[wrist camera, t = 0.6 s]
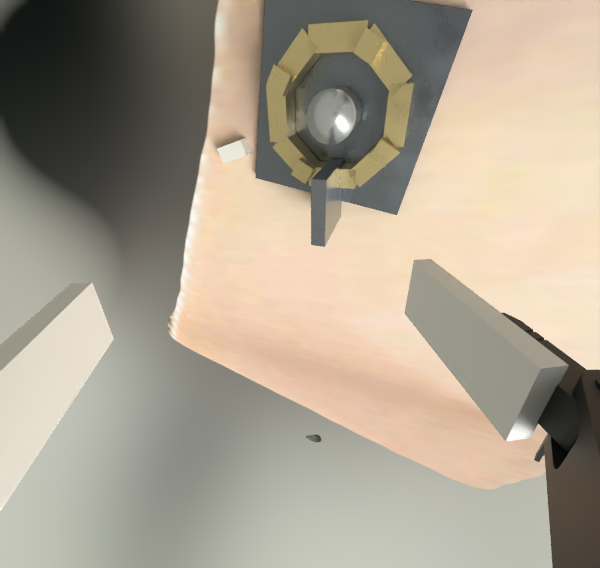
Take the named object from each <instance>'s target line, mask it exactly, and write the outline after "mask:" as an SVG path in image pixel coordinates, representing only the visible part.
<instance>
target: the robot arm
mask: <svg viewBox="0 0 600 568" xmlns="http://www.w3.org/2000/svg"><path fill="white" fill-rule="evenodd" d="M405 314H406V316H407V317H408V318H409V319H410V321H411V322H412V323H413V325H414V326H415V327H416V328H417V330H418V331H419V332H420V333H421V335H422V336H423V337H424V338H425V340H426V341H427V342H428V344H429V345H430V346H431V347H432V349H433V350H434V351H435V352H436V354H437V355H438V356H439V357H440V359H441V360H442V361H443V362H444V364H445V365H446V366H447V368H448V369H449V370H450V371H451V373H452V374H453V375H454V376H455V378H456V379H457V380H458V381H459V383H460V384H461V385H462V387H463V388H464V389H465V390H466V392H467V393H468V394H469V395H470V397H471V398H472V399H473V400H474V402H475V403H476V404H477V405H478V407H479V408H480V409H481V411H482V412H483V413H484V414H485V416H486V417H487V418H488V419H489V421H490V422H491V423H492V424H493V426H494V427H495V428H496V429H497V431H498V432H499V433H500V435H501V436H502V437H503V438H504V440H505V441H511V440H518V439H525V438H530V437H531V435H532V434H533V432H534V430H535V428H536V426H537V424H538V423H539V424H540V425H541V427H542V428H543V429H544V430H545V431H546V432H547V433H548V434H547V436H546V438H545V439H544V441H543V443H542V445H541V446H540V448H539V450H538V452H537V453H536V456H535V459H534V460H535V461H538V462H539V461H540V460H541V458H542V456H544V455H545V465H546V479H547V493H548V506H549V521H550V535H551V547H552V548H551V549H552V563H553V568H600V370H586V369H585V368H584V367H582V366H581V365H580V364H578V363H577V362H576V361H574V360H573V359H571V358H570V357H569V356H567V355H566V354H565V353H563V352H562V351H561V350H559V349H558V348H557V347H555V346H554V345H553V344H551V343H550V342H549V341H547V340H544V338H543V337H542V336H540V335H539V334H538V333H536V332H533V330H532V329H531V328H530V327H528V326H527V325H526V324H524V323H523V322H522V321H520V320H518V319H516V318H514V317H512V316H510V315H508V314H505V313H500V312H499V311H498V310H496V309H495V308H494V307H492V306H491V305H490V304H488V303H487V302H486V301H485V300H483V299H482V298H481V297H479V296H478V295H477V294H475V293H474V292H473V291H472V290H470V289H469V288H468V287H466V286H465V285H464V284H462V283H461V282H460V281H459V280H457V279H456V278H455V277H453V276H452V275H451V274H449V273H448V272H447V271H446V270H444V269H443V268H442V267H440V266H439V265H438V264H436V263H435V262H434V261H433V260H431V259H425V260H414V263H413V269H412V275H411V280H410V286H409V291H408V297H407V303H406V308H405ZM112 341H113V336H112V333H111V330H110V328H109V325H108V323H107V320H106V318H105V315H104V312H103V310H102V307H101V305H100V302H99V299H98V296H97V294H96V291H95V289H94V286H93V283H92V282H90V283H75V284H70V285H69V286H68V287H67V288H65V289H64V290H63V291H62V292H61V293H60V294H59V295H57V296H56V297H55V298H54V299H53V300H52V301H50V302H49V303H48V304H47V305H46V306H45V307H44V308H42V309H41V310H40V311H39V312H38V313H37V314H35V316H33V317H32V318H31V319H30V320H29V321H28V322H26V323H25V324H24V325H23V326H22V327H20V328H19V329H18V330H17V331H16V332H15V333H14V334H12V335H11V336H10V337H9V338H8V339H7V340H5V342H3V343H2V344H1V345H0V511H1V510H2V508H3V507H4V505H5V504H6V502H7V501H8V499H9V498H10V496H11V495H12V493H13V492H14V490H15V489H16V487H17V485H18V484H19V482H20V481H21V479H22V478H23V476H24V475H25V473H26V472H27V470H28V469H29V467H30V466H31V464H32V463H33V461H34V460H35V458H36V457H37V455H38V454H39V452H40V450H41V449H42V447H43V446H44V444H45V443H46V441H47V440H48V438H49V437H50V435H51V434H52V432H53V431H54V429H55V427H56V426H57V425H58V423H59V422H60V420H61V419H62V417H63V416H64V414H65V412H66V411H67V409H68V408H69V406H70V405H71V403H72V402H73V400H74V399H75V397H76V396H77V394H78V393H79V391H80V390H81V388H82V387H83V385H84V383H85V382H86V381H87V379H88V377H89V376H90V374H91V373H92V371H93V370H94V368H95V367H96V365H97V363H98V362H99V361H100V359H101V358H102V356H103V354H104V353H105V351H106V350H107V348H108V347H109V345H110V344H111V342H112Z"/></svg>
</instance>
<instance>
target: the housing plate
mask: <svg viewBox="0 0 600 568" xmlns="http://www.w3.org/2000/svg"><path fill="white" fill-rule="evenodd" d="M471 13H472V10H469V9H463V8H456V7H449V6H443V5H436V4H429V3H422V2H416V1H409V0H265V9H264V28H263V47H262V66H261V85H260V104H259V123H258V142H257V161H256V178H258V179H262V180H266V181H270V182H273V183H277V184H281V185H285V186H288V187H292V188H296V189H300V190H304V191H307V192H311V186H309V181H308V182H307V183H306V184H304V183H303V182H301V181H300V180H298V179H297V178H296V177H294V176H293V175H291V174H292V172H293V170H292V169H291V168H290V167H289V165H288V164H287V163H286V162H285V161H284V160H283V159H282V158H281V157H280V155H279V154H278V153H277V152H276V151H275V150H274V149H273V148H272V147H273V146H274V145H275V144H276V143H277V142H270V133H269V120H268V106H267V93H266V84H267V81H268V78H269V76H270V73H271V70H272V68H273V65H274V64H278V63H279V61H280V60H281V59H282V57H283V56H284V54H285V53H286V51H287V50H288V48H289V47H290V45H291V44H292V42H293V41H294V40H295V38H296V37H297V35H298V34H299V32H300V31H301V29H302V28H303V29H306V30H308V24H321V23H335V22H349V21H363V20H368V21H369V22H371V23H372V26H373V24H374V23H375V24H376V25H377V26H378V28H379V29H380V30H381V32H382V33H383V34H384V36H385V37H386V39H387V40H388V41H389V43H390V44H391V46H392V47H393V48H394V50H395V51H396V53H397V54H398V55H399V57H400V58H401V59H402V61H403V62H404V64H405V65H406V66H407V68H408V69H409V71H410V72H411V73H412V75H413V76H412V77H411V78H410V79H409V80H408V81H407V82H414V86H413V92H412V99H411V105H410V111H409V117H408V123H407V129H406V136H405V142H404V147H401V151H400V154H398V155H397V156H396V157H395V158H394V159H392V160H391V161H390V162H389V163H388V164H387V165H386V166H385V167H383V168H382V169H381V170H379V171H378V172H377V173H376V174H375V175H374V176H372V177H371V178H370V179H369V180H368V181H366V182H365V183H364V184H363V185H362V186H361V187H359V186H358V185H356V187H355V189H348V188H342V201H345V202H349V203H353V204H357V205H361V206H364V207H368V208H372V209H376V210H380V211H383V212H387V213H391V214H395V215H397V213H398V210H399V208H400V205H401V202H402V199H403V197H404V194H405V191H406V189H407V186H408V183H409V181H410V178H411V175H412V172H413V170H414V167H415V164H416V162H417V159H418V156H419V154H420V151H421V148H422V145H423V143H424V140H425V137H426V135H427V132H428V129H429V126H430V124H431V121H432V118H433V116H434V113H435V110H436V108H437V105H438V102H439V99H440V97H441V94H442V91H443V89H444V86H445V83H446V80H447V78H448V75H449V72H450V70H451V67H452V64H453V62H454V59H455V56H456V53H457V51H458V48H459V45H460V43H461V40H462V37H463V35H464V32H465V29H466V26H467V24H468V21H469V18H470V16H471ZM388 95H389V90H388V89H387V87H386V86H385V85H384V83H383V82H382V81H381V79H380V78H379V77H378V75H377V74H376V73H375V71H374V70H373V69H372V67H371V66H370V65H369V64H368V63H367V62H365V61H364V60H363V59H361V58H360V57H358V56H357V55H356V54H354V53H342V54H321V56H320V57H319V58H318V60H317V61H316V62H315V64H314V65H313V66H312V67H311V69H310V70H309V71H308V73H307V74H306V75H305V77H304V78H303V79H302V81H301V82H300V83H299V84H298V86H297V87H296V88H295V90H294V96H295V131H296V134H297V135H298V137H299V138H300V139H301V140H302V141H303V142H304V143H305V145H306V146H307V147H308V148H309V149H310V150H311V152H312V153H313V154H314V155H315V156H316V157H317V159H318V160H319V161H323V162H328V161H329V160H330V159H344V163H356V162H357V161H358V160H359V159H360V158H362V157H363V156H364V155H365V154H366V153H367V152H368V151H369V150H370V149H371V148H372V147H374V146H375V145H376V144H377V143H378V142H379V141H380V139H381V138H382V137H383V135H384V127H385V119H386V111H387V103H388Z"/></svg>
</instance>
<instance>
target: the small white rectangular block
mask: <svg viewBox="0 0 600 568" xmlns="http://www.w3.org/2000/svg"><path fill="white" fill-rule="evenodd" d="M217 151H218V153H219V155H220V158H221V160H222V162H223V163H226V162H229V161H232V160H235V159H238V158H241V157H244V156H246V155H248V154H250V153H251V151H250V148H249V146H248V143H247V140H246V138H244V139H241V140H238V141H236V142H233V143H230V144H228V145H225V146H222V147H220V148H217Z"/></svg>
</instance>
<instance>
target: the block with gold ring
mask: <svg viewBox="0 0 600 568" xmlns="http://www.w3.org/2000/svg"><path fill="white" fill-rule="evenodd" d="M342 53H354V54H356V55H357V56H358V57H360V58H361V59H363V60H364V61H365V62H367V63H368V64H369V65H370V66H371V67H372V69H373V70H374V71H375V73H376V74H377V75H378V77H379V78H380V79H381V81H382V82H383V83H384V85H385V86H386V87H387V89H388V90H389V95H388V103H387V111H386V119H385V127H384V135H383V137H382V138H381V139H380V141H379V142H378V143H377V144H376V145H375V146H374V147H372V148H371V149H370V150H369V151H368V152H367V153H366V154H365V155H364V156H363V157H362V158H360V159H359V160H358V161H357V162H356V163H344V159H330V160H329V161H328V162H323V161H319V160H318V159H317V157H316V156H315V155H314V154H313V153H312V152H311V150H310V149H309V148H308V147H307V146H306V145H305V143H304V142H303V141H302V140H301V139H300V138H299V137H298V135H297V134H296V131H295V96H294V90H295V88H296V87H297V86H298V84H299V83H300V82H301V81H302V79H303V78H304V77H305V75H306V74H307V73H308V71H309V70H310V69H311V67H312V66H313V65H314V64H315V62H316V61H317V60H318V58H319V57H320V56H321V54H342ZM412 76H413V75H412V73H411V72H410V71H409V69H408V68H407V66H406V65H405V64H404V62H403V61H402V59H401V58H400V57H399V55H398V54H397V53H396V51H395V50H394V48H393V47H392V46H391V44H390V43H389V41H388V40H387V39H386V37H385V36H384V34H383V33H382V32H381V30H380V29H379V28H378V26H377V25H376V24H375V23H374V24H373V26H372V23H371V22H369V21H368V20H363V21H349V22H335V23H321V24H308V30H306V29H303V28H302V29H301V31H300V32H299V34H298V35H297V37H296V38H295V40H294V41H293V42H292V44H291V45H290V47H289V48H288V50H287V51H286V53H285V54H284V56H283V57H282V59H281V60H280V61H279V63H278V64H274V65H273V68H272V70H271V73H270V76H269V78H268V81H267V84H266V93H267V106H268V120H269V133H270V142H277V143H276V144H275V145H274V146H273V147H272V148H273V149H274V150H275V151H276V152H277V153H278V154H279V155H280V157H281V158H282V159H283V160H284V161H285V162H286V163H287V164H288V165H289V167H290V168H291V169H292V170H293V172H292V174H291V175H293V176H294V177H296V178H297V179H298V180H300V181H301V182H303V183H304V184H306V183H307V182H308V181H309V186H311V245H316V246H324V247H325V245H326V243H327V242H328V240H329V238H330V236H331V234H332V232H333V230H334V228H335V226H336V224H337V223H338V221H339V219H340V217H341V201H342V188H348V189H355V187H356V185H358V186H359V187H361V186H362V185H363V184H364V183H365V182H366V181H368V180H369V179H370V178H371V177H372V176H374V175H375V174H376V173H377V172H378V171H379V170H381V169H382V168H383V167H385V166H386V165H387V164H388V163H389V162H390V161H391V160H392V159H394V158H395V157H396V156H397V155H398V154H400V151H401V147H404V142H405V136H406V129H407V123H408V117H409V111H410V105H411V99H412V92H413V86H414V82H407V81H408V80H409V79H410V78H411V77H412Z"/></svg>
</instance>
